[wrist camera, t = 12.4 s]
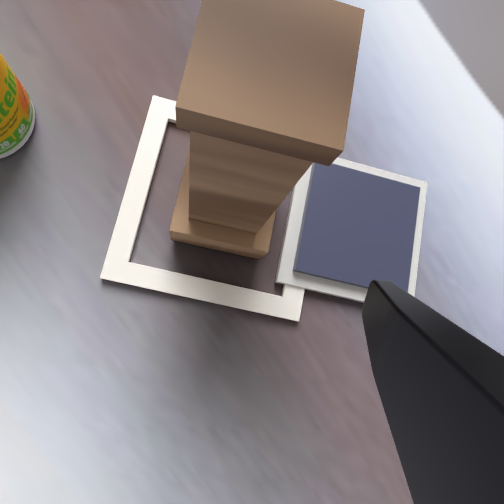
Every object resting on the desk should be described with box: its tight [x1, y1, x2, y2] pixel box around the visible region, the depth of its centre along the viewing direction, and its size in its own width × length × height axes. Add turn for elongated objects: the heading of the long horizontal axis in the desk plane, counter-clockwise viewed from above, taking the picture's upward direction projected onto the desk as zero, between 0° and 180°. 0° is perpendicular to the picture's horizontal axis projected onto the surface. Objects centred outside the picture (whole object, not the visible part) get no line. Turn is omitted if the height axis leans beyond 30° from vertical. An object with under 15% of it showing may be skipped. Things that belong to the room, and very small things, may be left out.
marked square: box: [100, 95, 305, 321], centre depth 23 cm, size 11×11×1 cm
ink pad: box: [275, 157, 428, 303], centre depth 24 cm, size 9×9×1 cm
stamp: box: [169, 0, 365, 259], centre depth 17 cm, size 5×5×14 cm
